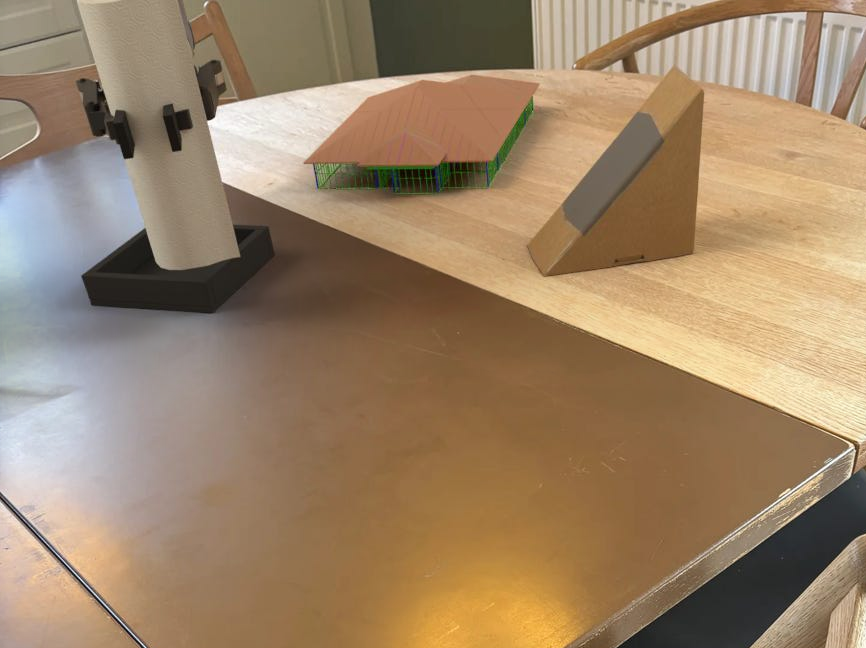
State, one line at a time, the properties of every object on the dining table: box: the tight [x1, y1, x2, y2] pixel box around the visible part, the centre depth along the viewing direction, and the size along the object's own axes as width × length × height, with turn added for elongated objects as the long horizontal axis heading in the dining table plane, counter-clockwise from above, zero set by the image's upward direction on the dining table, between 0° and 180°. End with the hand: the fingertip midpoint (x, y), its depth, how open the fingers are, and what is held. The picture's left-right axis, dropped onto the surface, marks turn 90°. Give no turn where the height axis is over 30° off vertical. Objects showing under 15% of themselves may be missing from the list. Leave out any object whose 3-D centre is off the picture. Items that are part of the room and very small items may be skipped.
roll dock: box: [80, 224, 276, 314], centre depth 104 cm, size 14×14×3 cm
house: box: [303, 74, 540, 195], centre depth 127 cm, size 23×33×8 cm
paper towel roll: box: [76, 0, 240, 270], centre depth 87 cm, size 7×6×21 cm
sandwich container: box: [526, 64, 705, 277], centre depth 97 cm, size 9×15×15 cm, turn 100°
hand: (147, 137), depth 82 cm, fingers closed on paper towel roll, 3 cm apart
